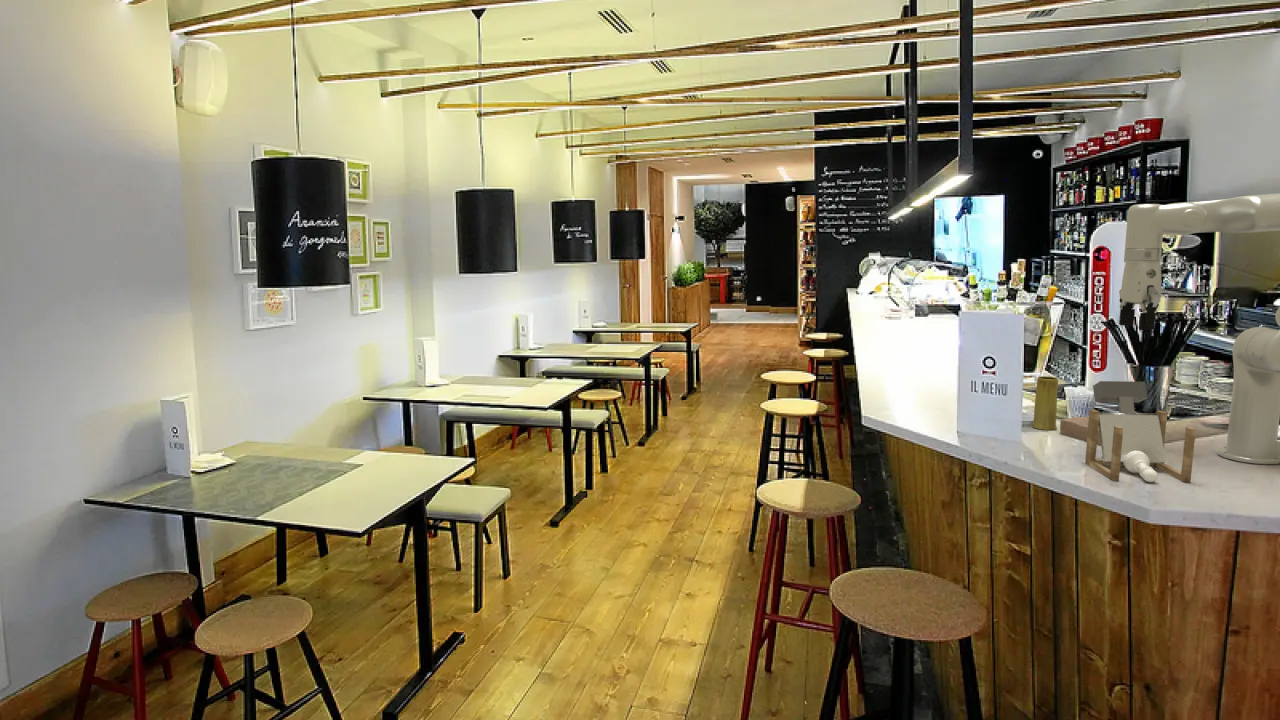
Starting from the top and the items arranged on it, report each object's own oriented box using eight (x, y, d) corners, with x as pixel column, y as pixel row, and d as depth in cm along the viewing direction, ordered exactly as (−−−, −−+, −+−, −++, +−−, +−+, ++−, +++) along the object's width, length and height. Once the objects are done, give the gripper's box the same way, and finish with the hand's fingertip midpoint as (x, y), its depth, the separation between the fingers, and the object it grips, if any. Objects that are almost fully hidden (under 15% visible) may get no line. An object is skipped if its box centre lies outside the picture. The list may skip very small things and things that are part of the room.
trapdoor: (1086, 385, 193) (1094, 380, 189) (1143, 386, 192) (1152, 381, 188) (1096, 464, 187) (1105, 461, 183) (1155, 466, 186) (1165, 462, 182)
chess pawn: (1151, 458, 182) (1170, 476, 173) (1135, 474, 183) (1153, 492, 175) (1134, 446, 181) (1152, 463, 173) (1117, 462, 183) (1135, 480, 175)
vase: (1057, 426, 226) (1061, 377, 224) (1055, 431, 221) (1059, 380, 218) (1033, 424, 229) (1036, 375, 227) (1030, 428, 224) (1034, 378, 222)
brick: (1135, 446, 205) (1136, 428, 205) (1110, 449, 203) (1111, 431, 202) (1081, 432, 221) (1082, 415, 220) (1057, 435, 218) (1058, 418, 218)
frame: (1156, 464, 188) (1161, 410, 186) (1190, 482, 175) (1196, 424, 173) (1085, 463, 190) (1089, 409, 188) (1113, 480, 176) (1117, 423, 174)
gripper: (1179, 257, 183) (1172, 331, 186) (1140, 255, 200) (1134, 323, 203) (1144, 257, 184) (1137, 331, 186) (1108, 255, 201) (1103, 323, 203)
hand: (1136, 327), depth 194 cm, fingers open, 9 cm apart
